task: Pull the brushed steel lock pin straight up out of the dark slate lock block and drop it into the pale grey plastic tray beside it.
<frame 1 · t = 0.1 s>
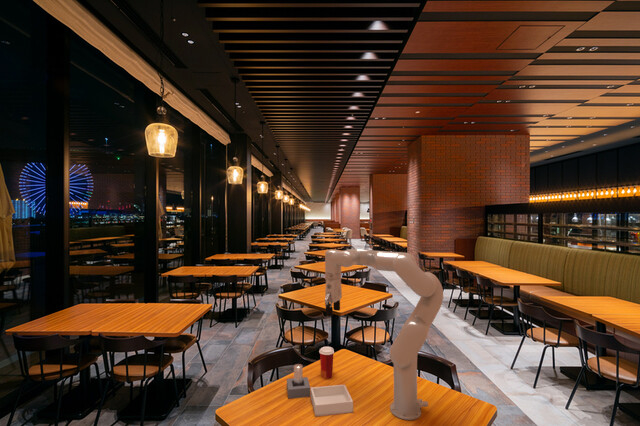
hand: (333, 312, 147), 37 cm above the table, tool pointing down, fingers open, 9 cm apart
lock block: (298, 391, 147), on the table
paper cup: (326, 376, 162), on the table
tray: (330, 404, 137), on the table
lock pin: (298, 378, 147), in the lock block
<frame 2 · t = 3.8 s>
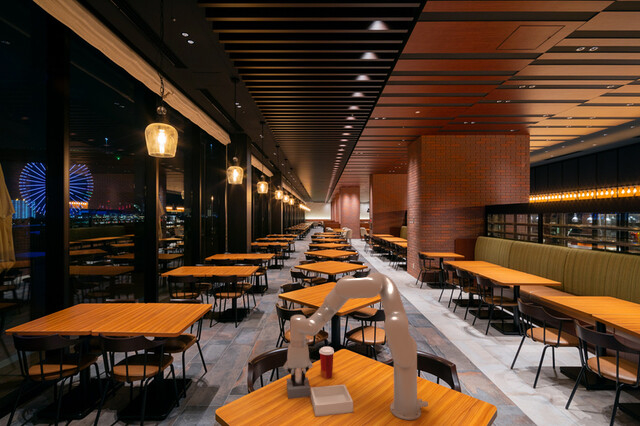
hand: (298, 381, 147), 5 cm above the table, tool pointing down, fingers closed on lock pin, 4 cm apart
lock pin: (298, 378, 147), in the lock block, touching gripper
everything else where it was.
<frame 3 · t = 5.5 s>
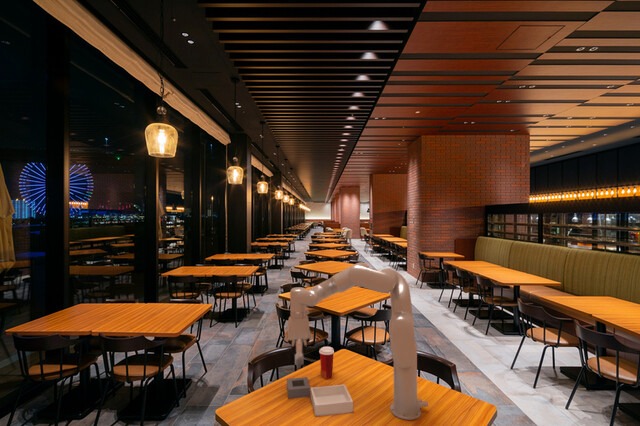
hand: (299, 353, 147), 18 cm above the table, tool pointing down, fingers closed on lock pin, 4 cm apart
lock pin: (298, 350, 148), point 19 cm above the table, touching gripper
everything else where it was.
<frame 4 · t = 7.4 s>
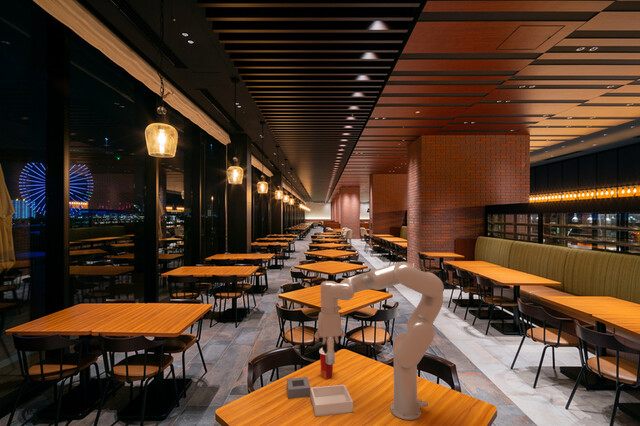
hand: (330, 351, 138), 23 cm above the table, tool pointing down, fingers closed on lock pin, 4 cm apart
lock pin: (330, 348, 138), point 24 cm above the table, touching gripper
everything else where it was.
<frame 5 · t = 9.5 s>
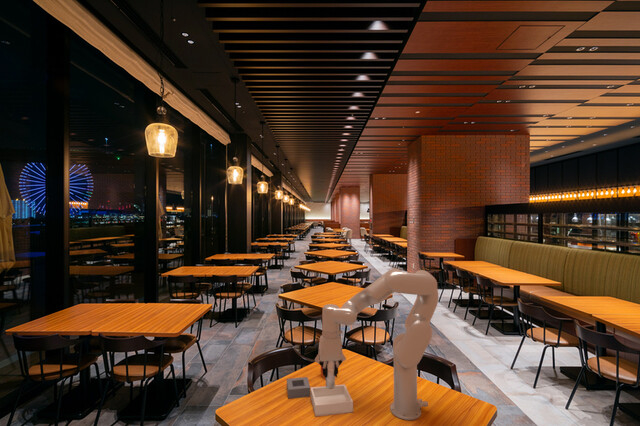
hand: (330, 375, 137), 13 cm above the table, tool pointing down, fingers closed on lock pin, 4 cm apart
lock pin: (330, 372, 137), point 14 cm above the table, touching gripper
everything else where it was.
when the fingers open (7 cm above the table, at t = 11.3 s): lock pin drops 2 cm, resting on tray.
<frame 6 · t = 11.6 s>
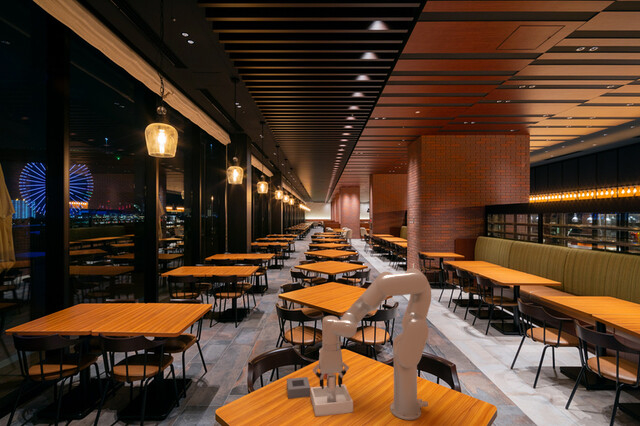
hand: (330, 386, 137), 8 cm above the table, tool pointing down, fingers open, 7 cm apart
lock pin: (331, 389, 137), in the tray, point 7 cm above the table
everything else where it was.
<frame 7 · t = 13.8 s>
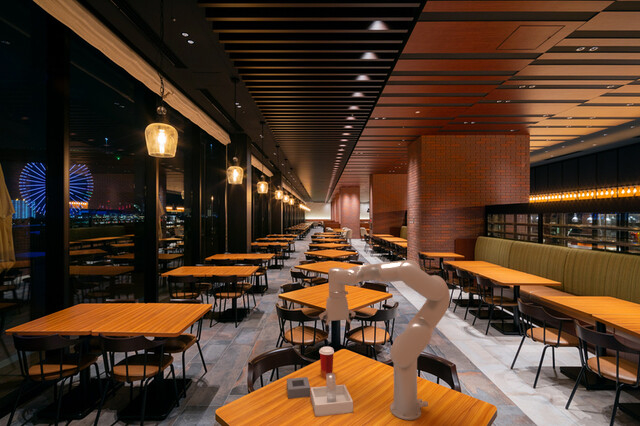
hand: (337, 332, 144), 29 cm above the table, tool pointing down, fingers open, 9 cm apart
nothing on the table moved.
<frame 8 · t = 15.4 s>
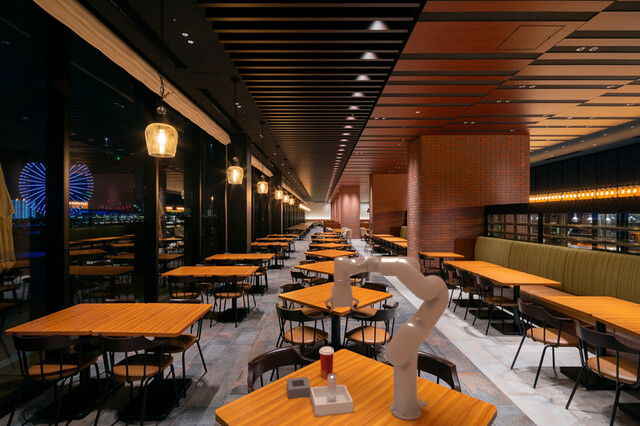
hand: (341, 318, 151), 33 cm above the table, tool pointing down, fingers open, 9 cm apart
nothing on the table moved.
at the end: lock pin inside the target area on the tray (0.3 cm from its centre), point 6.7 cm above the tray's base; the gripper is holding nothing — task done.
